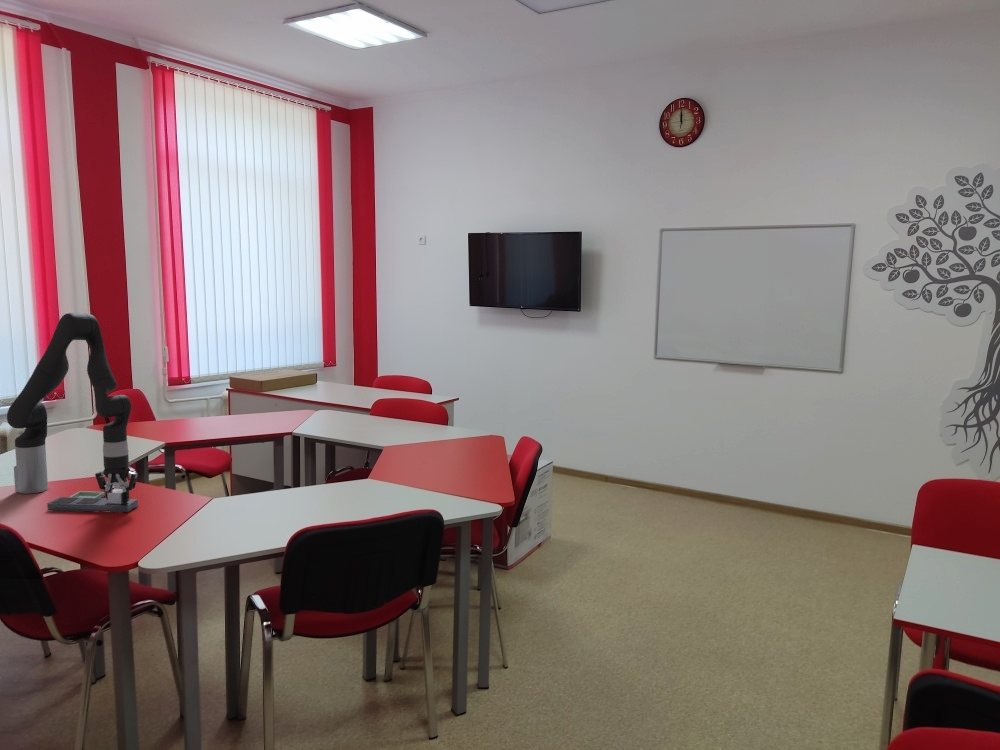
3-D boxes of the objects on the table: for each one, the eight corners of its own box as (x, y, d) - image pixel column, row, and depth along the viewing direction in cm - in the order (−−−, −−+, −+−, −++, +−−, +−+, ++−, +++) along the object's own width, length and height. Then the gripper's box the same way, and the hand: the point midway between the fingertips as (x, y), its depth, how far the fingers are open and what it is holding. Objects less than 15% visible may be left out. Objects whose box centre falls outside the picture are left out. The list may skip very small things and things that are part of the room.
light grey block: (108, 511, 238) (107, 492, 237) (115, 506, 242) (114, 488, 241) (121, 511, 238) (120, 493, 237) (128, 507, 242) (127, 489, 242)
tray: (65, 503, 244) (65, 499, 243) (80, 495, 253) (80, 491, 252) (91, 504, 244) (91, 499, 244) (105, 496, 253) (105, 491, 253)
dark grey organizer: (47, 510, 236) (47, 503, 236) (60, 503, 243) (59, 496, 243) (127, 512, 237) (127, 505, 236) (137, 506, 244) (137, 499, 243)
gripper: (88, 455, 233) (91, 504, 236) (131, 456, 234) (133, 505, 236) (100, 449, 241) (103, 497, 243) (142, 451, 241) (144, 498, 244)
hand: (118, 501), depth 240 cm, fingers closed on light grey block, 4 cm apart
